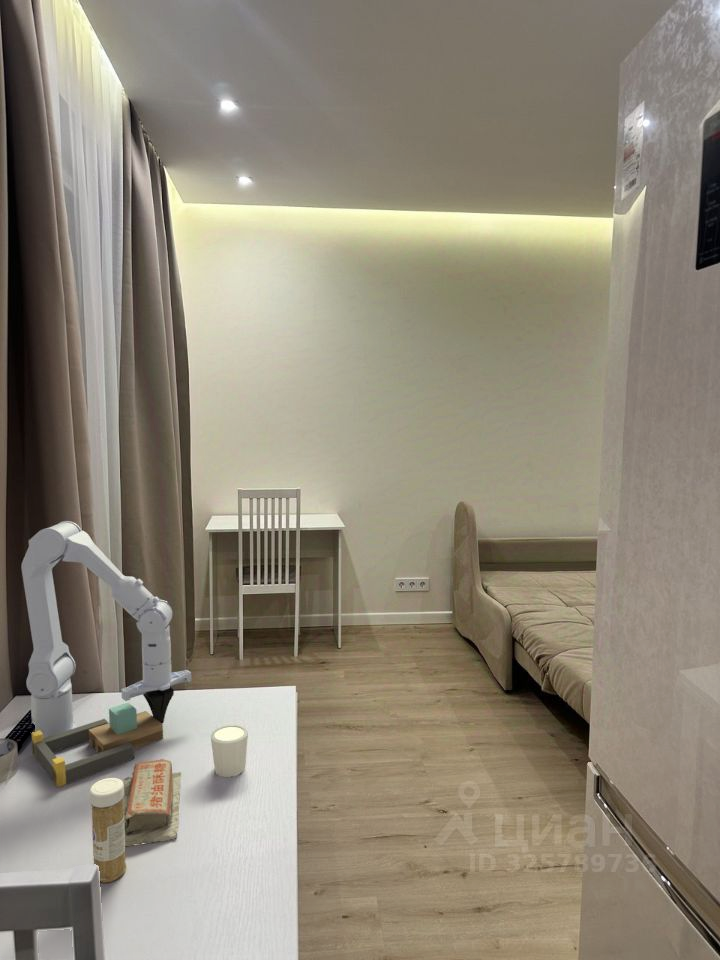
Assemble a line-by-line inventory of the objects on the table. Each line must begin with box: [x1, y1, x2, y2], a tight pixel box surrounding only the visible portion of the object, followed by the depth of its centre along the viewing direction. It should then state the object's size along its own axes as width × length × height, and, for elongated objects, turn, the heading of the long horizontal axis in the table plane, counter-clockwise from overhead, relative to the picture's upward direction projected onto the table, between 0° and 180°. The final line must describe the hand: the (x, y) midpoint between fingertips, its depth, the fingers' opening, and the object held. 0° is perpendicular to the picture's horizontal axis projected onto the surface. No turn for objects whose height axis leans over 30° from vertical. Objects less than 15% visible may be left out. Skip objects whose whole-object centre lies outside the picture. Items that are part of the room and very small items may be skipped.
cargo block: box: [108, 702, 138, 735], centre depth 128 cm, size 4×4×4 cm
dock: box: [31, 718, 135, 788], centre depth 122 cm, size 15×14×4 cm
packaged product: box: [122, 758, 182, 847], centre depth 106 cm, size 18×5×10 cm
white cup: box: [210, 724, 249, 778], centre depth 118 cm, size 7×7×7 cm
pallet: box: [88, 710, 164, 754], centre depth 128 cm, size 8×12×3 cm, turn 133°
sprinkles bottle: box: [89, 777, 127, 883], centre depth 91 cm, size 5×5×14 cm
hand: (158, 722), depth 133 cm, fingers closed
